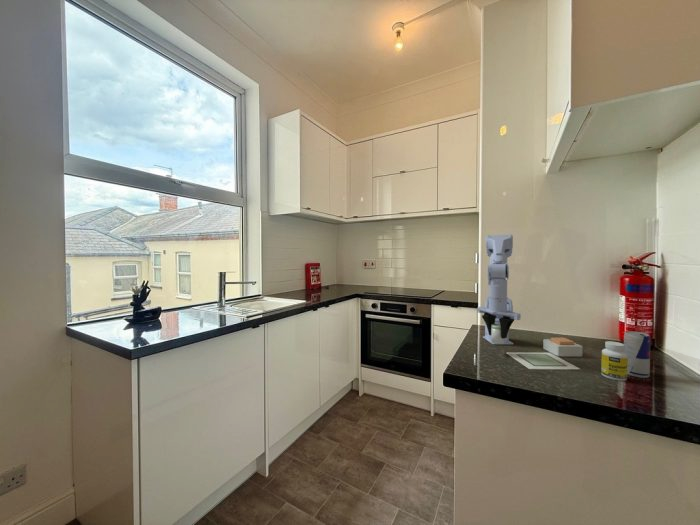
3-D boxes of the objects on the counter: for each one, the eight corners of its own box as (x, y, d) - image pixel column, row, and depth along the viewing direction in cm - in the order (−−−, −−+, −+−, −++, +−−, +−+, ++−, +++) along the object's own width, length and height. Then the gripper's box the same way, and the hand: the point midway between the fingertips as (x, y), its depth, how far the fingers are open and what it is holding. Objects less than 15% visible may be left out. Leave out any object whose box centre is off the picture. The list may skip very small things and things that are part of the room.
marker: (489, 340, 101) (489, 323, 101) (500, 340, 101) (500, 323, 101) (494, 343, 97) (494, 326, 97) (506, 343, 97) (506, 326, 97)
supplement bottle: (606, 379, 78) (607, 345, 78) (597, 372, 83) (597, 339, 83) (631, 382, 77) (632, 347, 76) (620, 374, 82) (621, 341, 81)
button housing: (543, 348, 104) (543, 339, 104) (565, 348, 104) (565, 339, 104) (558, 356, 96) (558, 346, 96) (582, 356, 96) (582, 346, 96)
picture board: (506, 353, 100) (506, 352, 100) (549, 353, 99) (549, 352, 99) (529, 369, 86) (529, 368, 86) (580, 369, 85) (580, 368, 85)
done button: (550, 344, 102) (550, 337, 102) (564, 344, 102) (564, 337, 102) (559, 348, 98) (560, 341, 98) (574, 348, 97) (574, 341, 97)
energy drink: (655, 379, 79) (656, 336, 78) (632, 377, 80) (633, 335, 79) (639, 371, 84) (640, 331, 83) (618, 369, 85) (619, 330, 84)
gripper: (472, 296, 103) (472, 333, 103) (512, 302, 90) (511, 343, 91) (484, 294, 106) (484, 330, 107) (524, 299, 94) (523, 340, 94)
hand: (497, 336), depth 99 cm, fingers closed on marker, 4 cm apart
